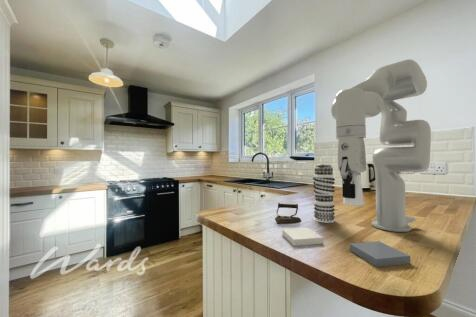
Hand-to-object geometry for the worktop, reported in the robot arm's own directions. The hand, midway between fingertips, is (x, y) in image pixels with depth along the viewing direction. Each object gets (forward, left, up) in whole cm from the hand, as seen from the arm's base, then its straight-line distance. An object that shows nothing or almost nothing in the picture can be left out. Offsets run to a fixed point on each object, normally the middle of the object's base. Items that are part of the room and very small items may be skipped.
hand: (351, 195), depth 61 cm
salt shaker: (0, 0, -3) cm, 3 cm away
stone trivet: (+9, -13, -17) cm, 23 cm away
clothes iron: (+6, -33, -17) cm, 38 cm away
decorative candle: (-11, -32, -17) cm, 38 cm away
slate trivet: (-6, +3, -17) cm, 18 cm away
